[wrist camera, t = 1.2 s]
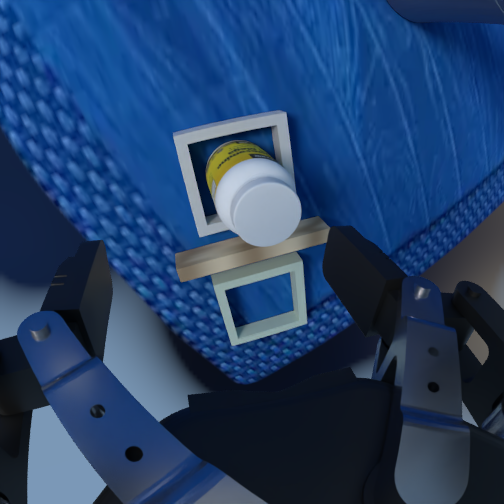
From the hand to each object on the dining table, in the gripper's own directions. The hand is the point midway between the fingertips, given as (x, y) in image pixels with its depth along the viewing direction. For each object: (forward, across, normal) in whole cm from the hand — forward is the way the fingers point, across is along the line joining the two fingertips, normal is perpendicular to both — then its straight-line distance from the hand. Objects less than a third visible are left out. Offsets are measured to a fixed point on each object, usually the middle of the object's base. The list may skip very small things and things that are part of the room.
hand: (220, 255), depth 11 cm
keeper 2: (+20, -8, +18) cm, 28 cm away
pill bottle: (+20, -4, +3) cm, 21 cm away
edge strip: (+20, -6, +11) cm, 23 cm away
